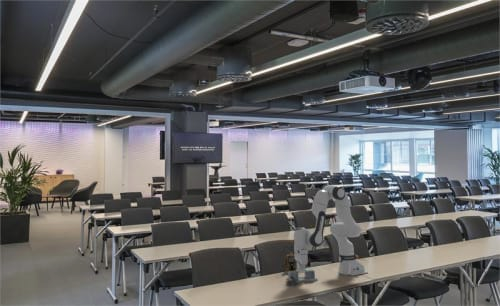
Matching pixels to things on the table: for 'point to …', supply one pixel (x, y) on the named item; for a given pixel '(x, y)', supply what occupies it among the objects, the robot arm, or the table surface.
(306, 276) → the blue-grey dumbbell
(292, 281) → the relay
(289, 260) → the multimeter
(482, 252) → the table surface
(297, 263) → the module
